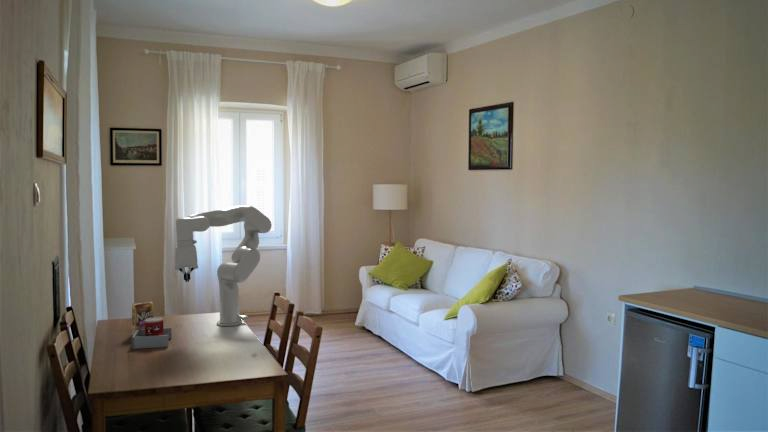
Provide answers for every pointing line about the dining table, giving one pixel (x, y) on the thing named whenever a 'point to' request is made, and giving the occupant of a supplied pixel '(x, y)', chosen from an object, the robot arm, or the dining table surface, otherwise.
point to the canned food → (154, 326)
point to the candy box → (141, 315)
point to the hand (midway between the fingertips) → (187, 281)
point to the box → (151, 339)
